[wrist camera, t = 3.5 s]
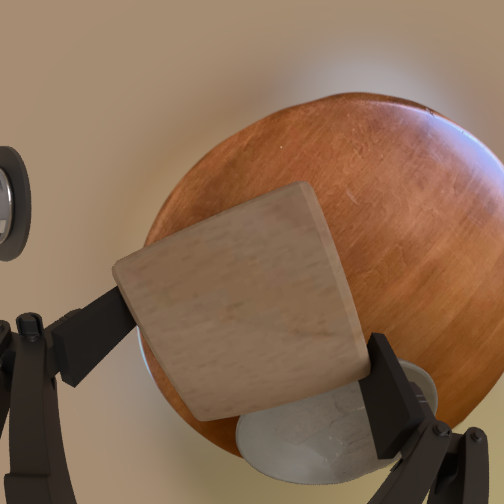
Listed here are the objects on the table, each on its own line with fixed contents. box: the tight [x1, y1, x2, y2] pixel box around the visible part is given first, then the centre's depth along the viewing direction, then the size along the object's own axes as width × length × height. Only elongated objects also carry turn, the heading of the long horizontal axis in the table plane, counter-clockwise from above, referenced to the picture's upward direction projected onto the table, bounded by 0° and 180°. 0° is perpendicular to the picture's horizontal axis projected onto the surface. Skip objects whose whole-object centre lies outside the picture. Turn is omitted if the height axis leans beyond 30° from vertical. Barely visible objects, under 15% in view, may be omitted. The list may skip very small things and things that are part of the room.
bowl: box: [236, 357, 438, 485], centre depth 33 cm, size 27×28×8 cm
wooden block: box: [112, 181, 371, 421], centre depth 22 cm, size 10×10×20 cm
